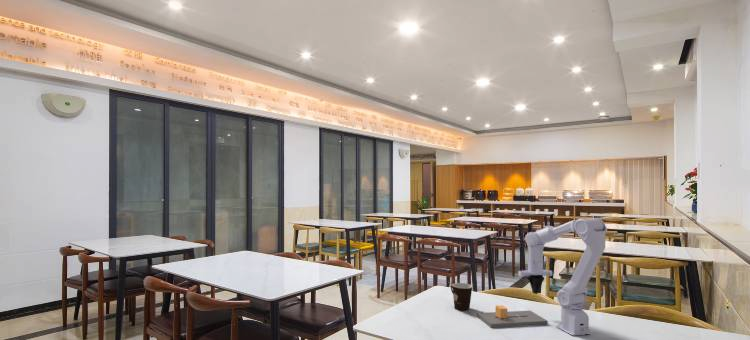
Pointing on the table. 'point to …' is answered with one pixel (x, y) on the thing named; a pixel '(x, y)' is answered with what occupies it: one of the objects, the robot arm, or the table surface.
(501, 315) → the fader knob
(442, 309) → the table surface
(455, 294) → the coffee mug
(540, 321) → the board
